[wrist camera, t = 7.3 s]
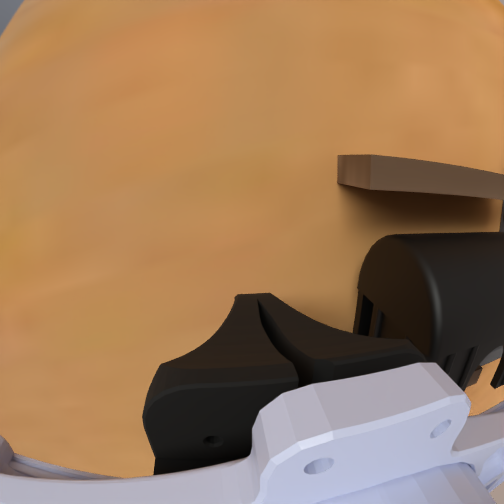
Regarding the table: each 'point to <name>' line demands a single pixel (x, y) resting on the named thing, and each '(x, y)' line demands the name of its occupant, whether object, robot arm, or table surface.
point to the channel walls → (419, 182)
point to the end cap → (437, 297)
